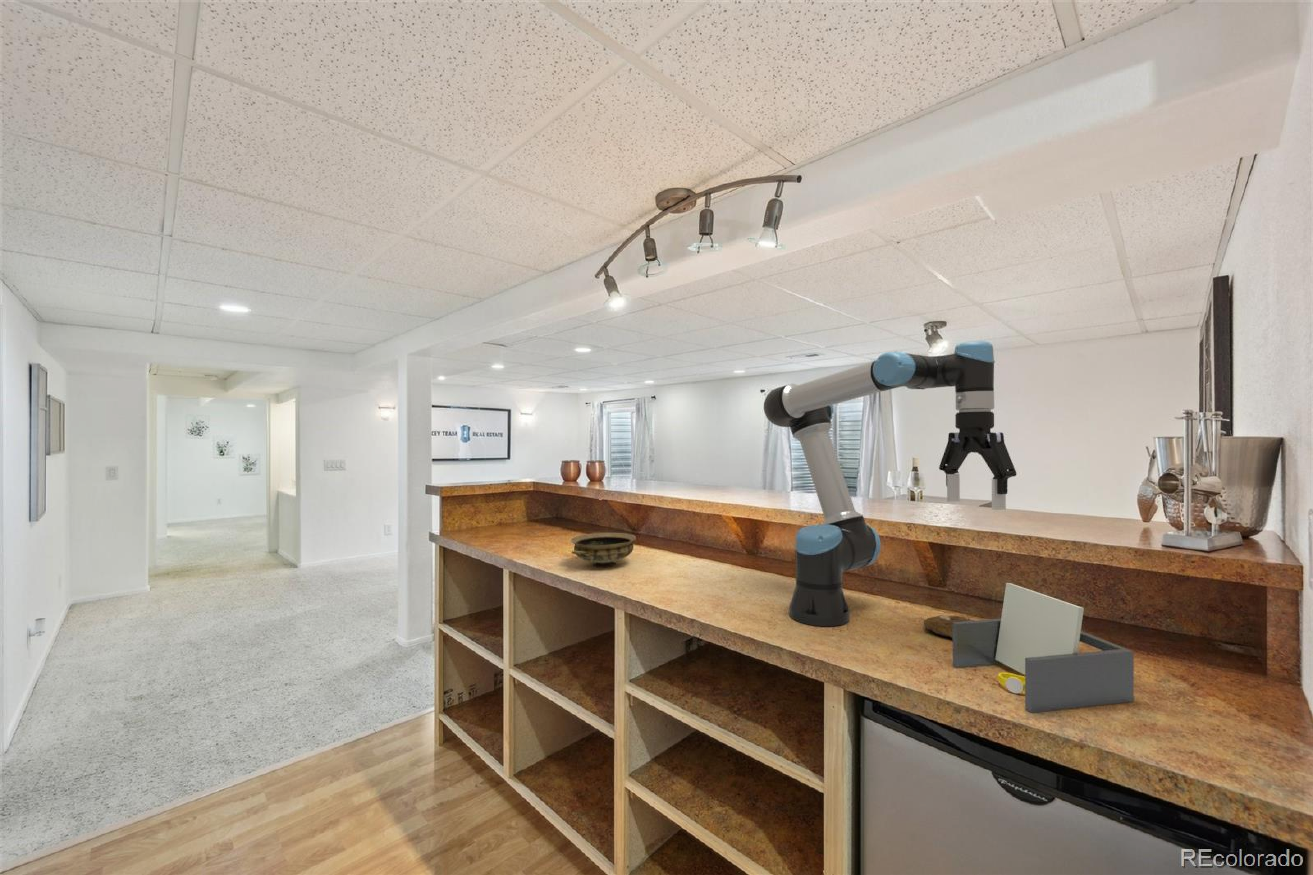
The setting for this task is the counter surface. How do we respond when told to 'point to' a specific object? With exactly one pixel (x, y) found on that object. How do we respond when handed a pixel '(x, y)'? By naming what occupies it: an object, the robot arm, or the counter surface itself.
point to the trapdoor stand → (1054, 669)
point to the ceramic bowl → (603, 547)
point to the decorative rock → (943, 624)
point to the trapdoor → (1036, 627)
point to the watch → (1012, 682)
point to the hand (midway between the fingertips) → (974, 505)
